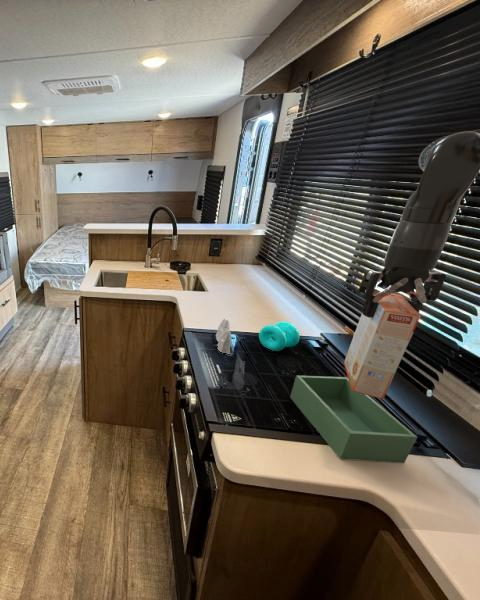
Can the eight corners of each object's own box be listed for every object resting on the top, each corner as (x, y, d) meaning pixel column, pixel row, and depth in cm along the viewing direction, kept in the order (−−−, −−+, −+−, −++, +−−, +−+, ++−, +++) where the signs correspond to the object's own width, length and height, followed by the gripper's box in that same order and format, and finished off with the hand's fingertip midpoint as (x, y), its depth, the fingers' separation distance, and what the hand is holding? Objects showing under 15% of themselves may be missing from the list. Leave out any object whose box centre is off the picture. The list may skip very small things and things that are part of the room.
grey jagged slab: (214, 338, 124) (218, 314, 120) (225, 340, 123) (230, 315, 118) (217, 354, 113) (222, 327, 109) (230, 355, 112) (235, 328, 108)
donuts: (297, 351, 114) (304, 327, 111) (279, 357, 111) (285, 332, 107) (273, 339, 123) (278, 316, 119) (255, 344, 119) (260, 321, 116)
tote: (339, 399, 89) (347, 377, 87) (404, 463, 69) (417, 437, 67) (289, 397, 91) (296, 375, 88) (340, 459, 71) (350, 433, 68)
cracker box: (385, 401, 68) (423, 315, 60) (350, 391, 71) (381, 309, 63) (372, 369, 78) (403, 293, 71) (342, 362, 82) (368, 289, 74)
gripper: (393, 247, 59) (366, 323, 65) (475, 248, 58) (439, 325, 64) (364, 240, 66) (341, 309, 72) (436, 240, 65) (407, 310, 71)
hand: (387, 316), depth 68 cm, fingers closed on cracker box, 8 cm apart
